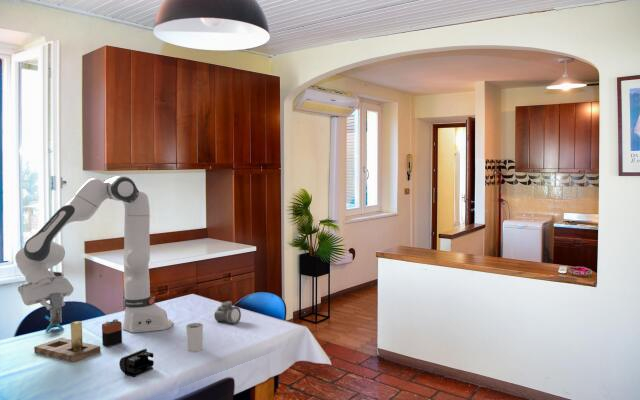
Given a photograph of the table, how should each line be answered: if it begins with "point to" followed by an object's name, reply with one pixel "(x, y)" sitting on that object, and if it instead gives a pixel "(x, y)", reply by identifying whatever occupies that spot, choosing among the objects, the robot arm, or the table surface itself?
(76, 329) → the brass leg
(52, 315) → the steel leg
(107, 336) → the battery
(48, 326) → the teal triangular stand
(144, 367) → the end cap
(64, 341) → the hole plate
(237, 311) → the pipe fitting
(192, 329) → the grey cup
